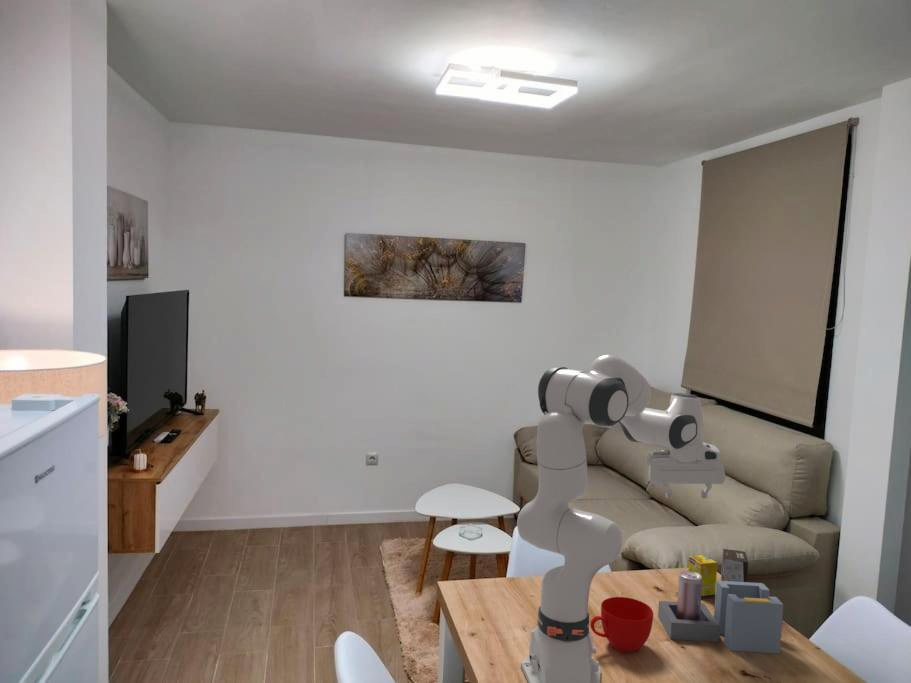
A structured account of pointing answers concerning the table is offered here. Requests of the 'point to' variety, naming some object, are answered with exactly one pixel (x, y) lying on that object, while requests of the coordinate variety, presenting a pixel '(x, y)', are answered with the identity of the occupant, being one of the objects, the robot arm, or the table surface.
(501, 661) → the table surface
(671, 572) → the table surface
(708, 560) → the supplement box
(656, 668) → the table surface
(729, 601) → the socket
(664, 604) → the tray
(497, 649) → the table surface
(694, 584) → the beverage can
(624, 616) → the ceramic cup
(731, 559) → the coffee box
